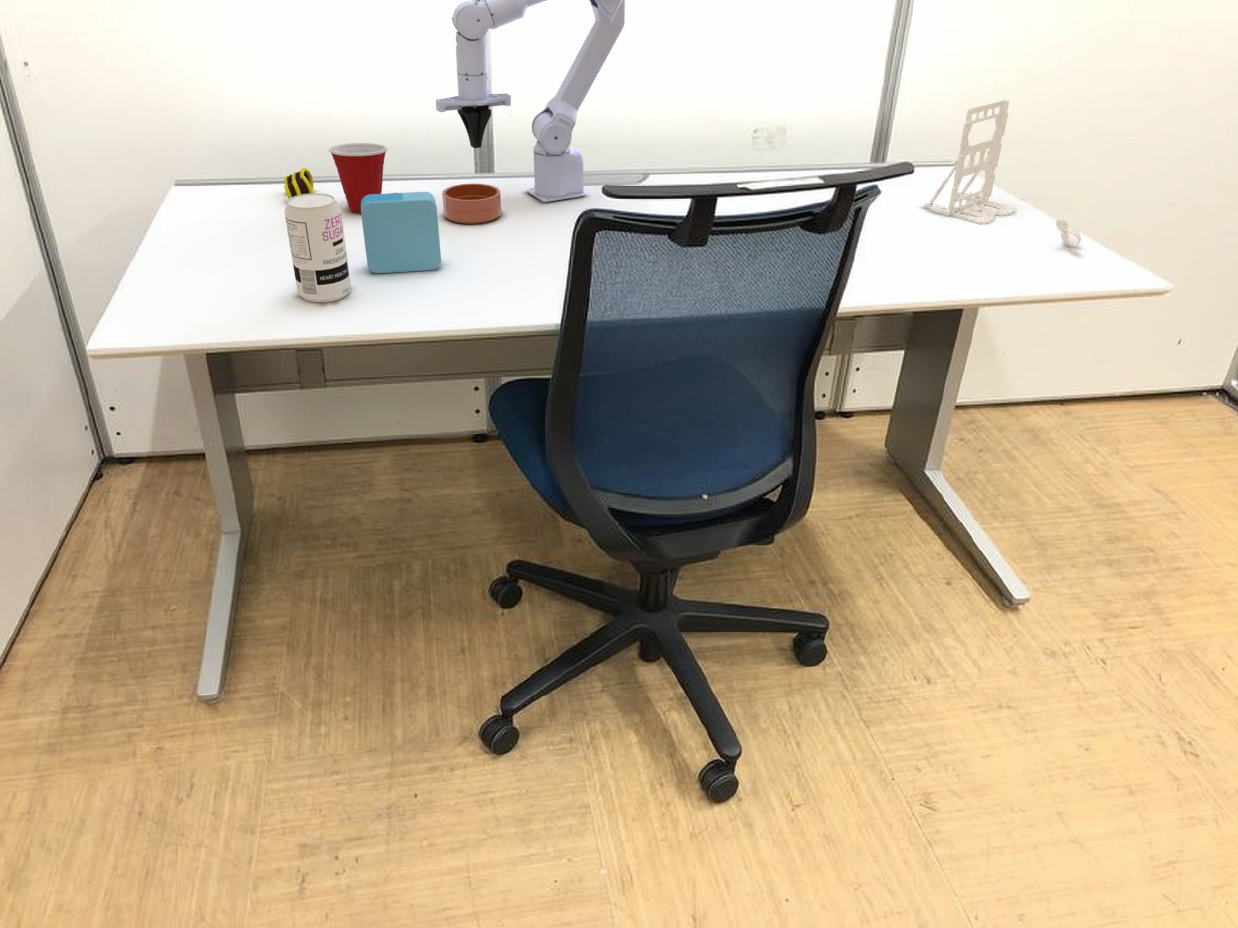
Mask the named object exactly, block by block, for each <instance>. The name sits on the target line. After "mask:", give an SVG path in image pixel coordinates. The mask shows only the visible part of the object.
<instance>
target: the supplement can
mask: <svg viewBox="0 0 1238 928" xmlns="http://www.w3.org/2000/svg"><path fill="white" fill-rule="evenodd" d="M284 219H285V225H286V231H287V236H288V243H289V248H290V255H291V260H292V267H293V273H294V278H295V285H296V292H297V294H298V295H299V296H300V297H301V298H303V299H304V300H305V301H308V302H311V303H331V302H335V301H338V300H341V299H343V298H345V297H347V295H348V294H349V292H350V291H351V290H352V284H351V277H350V275H351V274H350V269H349V268H350V267H349V262H348V261H349V260H348V253H347V245H346V240H345V239H346V238H345V231H344V223H343V218H342V210H341V206H340V205H339V203H338V201H336V197H335V196H333V195H331V194H329V193H320V192H316V193H315V192H313V193H310V194H302V195H298V196H294V197H292V198H290V199H289V198H288V199H287V201H286V206H285V208H284Z"/></svg>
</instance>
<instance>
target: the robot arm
mask: <svg viewBox="0 0 1238 928" xmlns="http://www.w3.org/2000/svg"><path fill="white" fill-rule="evenodd" d="M546 1H547V0H474V1H470V0H469V1H468V0H467V1H463V2H460V3H459V4H458V5H457V6H456V8H455V9H454V11H453V14H452V17H451V22H452V24H453V26H454V28H455V29H456V32H455V42H456V46H455V55H456V56H455V57H456V75H457V77H456V78H457V95H454V96H450V97H445V98H439V99H437V98H436V99H435V109H436V111H437V112H439V113H445V112H448V111H449V112H450V111H457V114H458V115H459V117H460V119H461V121H462V123H463V125H464V128H465V130H466V133H467V136H468V139H469V144H470V147H472V148H473V149H481V148H482V145H483V140H484V139H483V138H484V134H485V130H486V127H487V125H488V123H489V120H491V119H490V118H491V117H492V109H491V107H500V106H501V107H502V106H506V107H509V106H512V96H511V94H508V93H490V92H489V90H490V89H489V65H488V64H489V63H488V61H489V60H488V46H487V39H486V38H487V37H486V34H487V33H488V31H489V30H491V31H493V30H495V29H497V28H500V27H503V26H505V25H507V24H510V23H512V22H515V21H518V20H520V19H522V18H524V17H525V14H526V13H527V10H528V8H529V7H532V6H535V5H537V4H541V3H544V2H546ZM589 2H590V6H591V9H592V13H593V16H594V23H593V25H592V26H591V29H590V30H589V32H588V34H587V36H586V38H585V40H584V41H583V43H582V45H581V47H580V49H579V50H578V53H577V54H576V56H575V58H574V60H573V62H572V64H571V66H570V67H569V69H568V71H567V73H566V75H565V76H564V79H563V81H562V82H561V84H560V86H559V88H558V90H557V92H556V94H555V96H553V97H552V98H551V99H550V100H549V101H548V102H547V103H546V106H545V107H544V108H543V109H542V110H541V111H540V112H539V113H537V114H536V115H535V116H534V117H533V119H532V122H531V132H532V134H533V136H534V137H535V139H536V142H535V144H534V146H533V174H534V175H533V176H534V177H533V178H534V180H533V181H534V188H529V189H527V190H526V193H528V194H529V195H531V196H533V197H534V198H536V199H538V200H539V201H541V202H543V203H548V202H556V201H562V200H568V199H573V198H580V197H585V196H586V193H585V192H584V160H583V156H582V153H581V152H580V150H579V149H578V148H576V147H570V145H571V142H572V137H573V135H572V134H573V131H574V128H575V126H576V124H577V118H578V112H579V109H580V108H581V106H582V104H583V102H584V101H585V99H586V97H587V95H588V93H589V91H590V89H591V87H592V85H593V84H594V82H595V80H596V79H597V76H598V75H599V73H600V71H601V69H602V67H603V66H604V63H605V62H606V60H607V58H608V57H609V54H610V52H611V51H612V49H613V47H614V46H615V44H616V42H617V41H618V38H619V36H620V35H621V33H622V31H623V29H624V26H625V19H626V18H625V17H626V16H625V14H626V13H625V12H626V11H625V7H626V0H589Z"/></svg>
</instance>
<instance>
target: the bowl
mask: <svg viewBox="0 0 1238 928" xmlns="http://www.w3.org/2000/svg"><path fill="white" fill-rule="evenodd" d="M441 195H442V209H443V216H444V217H445V218H446V219H447V220H450V221H452V222H455V223H458V224H466V225H475V224H476V225H478V224H484V223H489V222H492V221H494V220H496V219H497V218H499V217H501V215H502V198H501V197H502V196H501V190H500V189H499V187H497V186H494V185H491V184H485V183H461V184H456V185H452V186H449V187H447V188H445V189H444V190H442V193H441Z"/></svg>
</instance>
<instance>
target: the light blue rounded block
mask: <svg viewBox="0 0 1238 928" xmlns="http://www.w3.org/2000/svg"><path fill="white" fill-rule="evenodd" d="M360 214H361V216H360V217H361V223H362V232H363V241H364V246H365V248H364V249H365V255H366V264H367V268H368V269H369V270H370V271H371V272H372V273H374V274H389V273H390V274H393V273H406V272H423V271H434V270H436V269H438V268H439V267H440V265H441V264H442V254H441V243H440V242H441V241H440V231H439V218H438V207H437V202H436V198H435V196H434V195H433V194H432V193H430V192H429V191H413V192H391V193H390V192H389V193H381V194H370V195H366V196H365V197H364V198H363V199H362V201H361V213H360Z"/></svg>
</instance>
